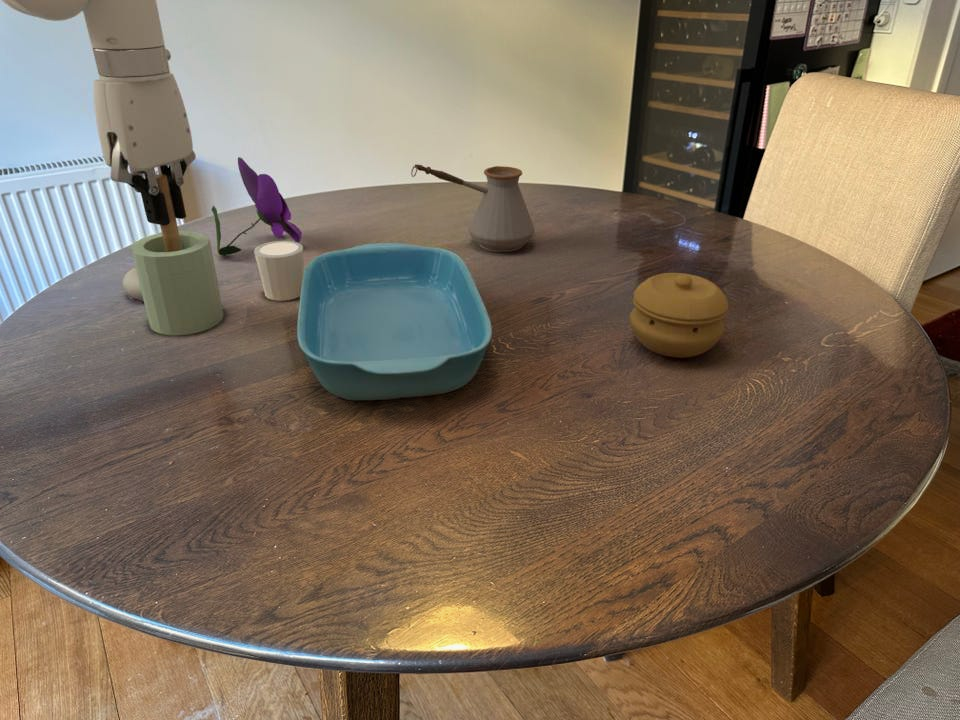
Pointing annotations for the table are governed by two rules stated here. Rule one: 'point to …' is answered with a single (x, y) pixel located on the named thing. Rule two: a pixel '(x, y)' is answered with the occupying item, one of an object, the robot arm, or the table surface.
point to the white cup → (280, 269)
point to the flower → (262, 207)
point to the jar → (178, 284)
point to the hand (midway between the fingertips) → (167, 219)
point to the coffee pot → (496, 209)
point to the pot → (678, 314)
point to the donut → (132, 285)
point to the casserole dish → (391, 321)
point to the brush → (170, 230)
